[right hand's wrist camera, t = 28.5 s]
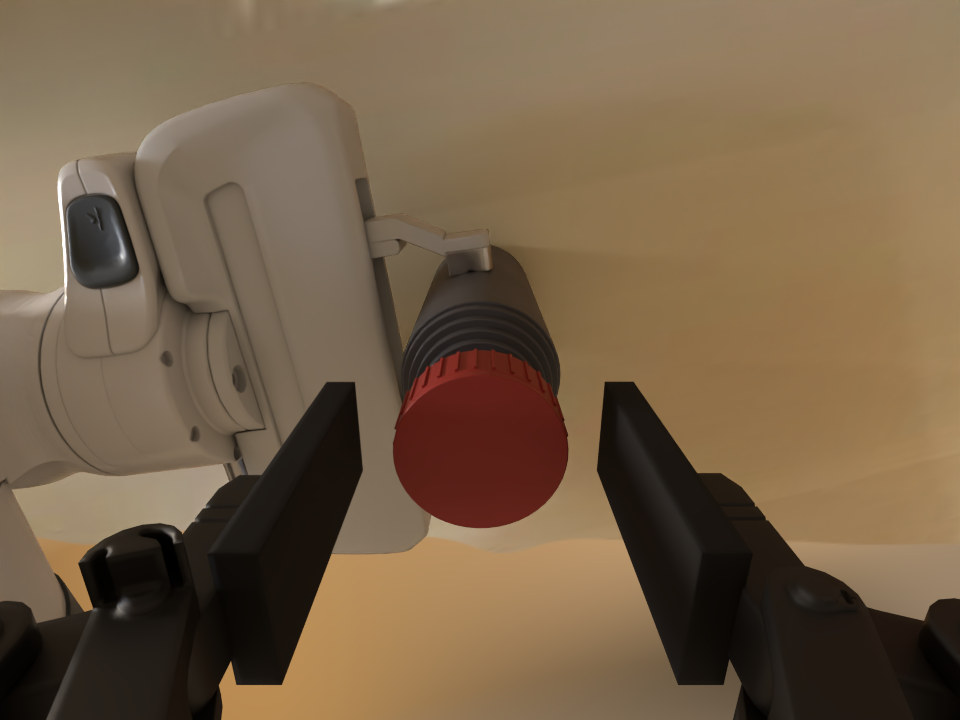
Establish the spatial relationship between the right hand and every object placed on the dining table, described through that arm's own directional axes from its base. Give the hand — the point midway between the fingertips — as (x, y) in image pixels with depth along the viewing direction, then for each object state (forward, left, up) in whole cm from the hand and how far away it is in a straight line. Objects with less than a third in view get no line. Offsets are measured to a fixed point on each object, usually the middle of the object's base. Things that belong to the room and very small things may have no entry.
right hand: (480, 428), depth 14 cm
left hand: (-1, 0, -9) cm, 9 cm away
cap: (0, 0, +1) cm, 1 cm away
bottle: (0, 0, -16) cm, 16 cm away
